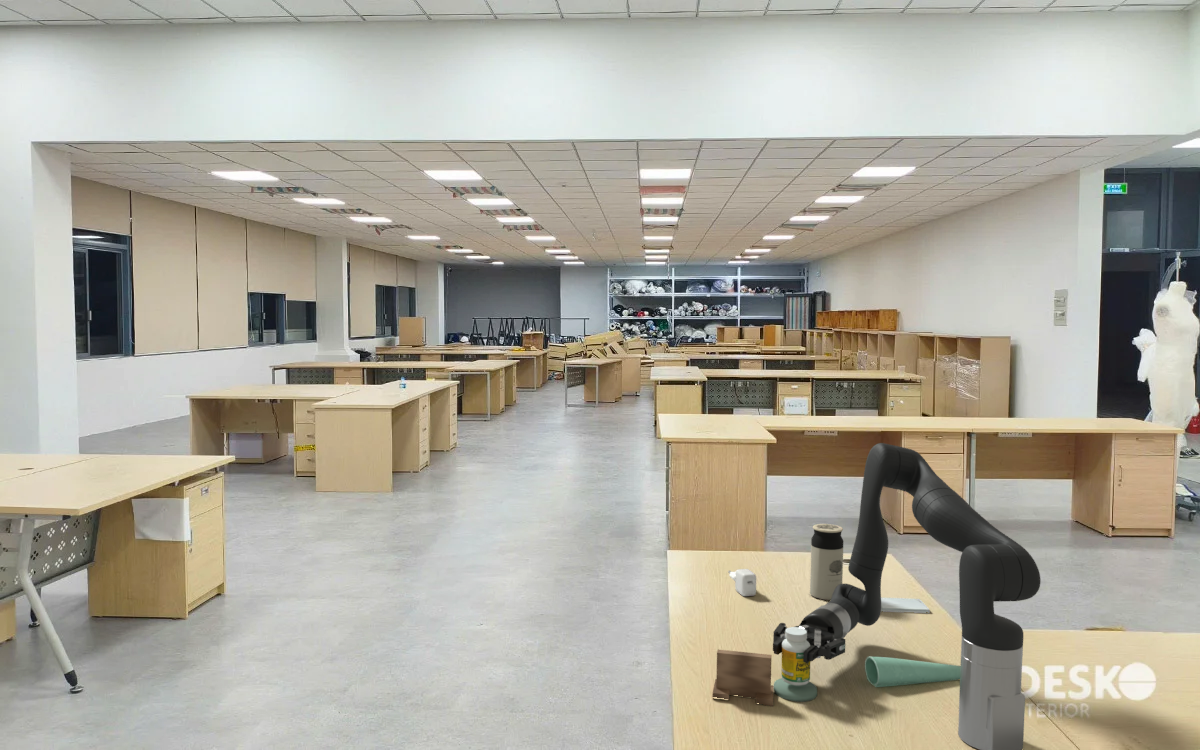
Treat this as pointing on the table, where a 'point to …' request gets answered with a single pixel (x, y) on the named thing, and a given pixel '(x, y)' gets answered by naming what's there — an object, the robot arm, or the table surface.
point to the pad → (795, 691)
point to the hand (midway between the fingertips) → (790, 653)
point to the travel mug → (826, 560)
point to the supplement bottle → (795, 657)
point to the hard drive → (903, 605)
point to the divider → (744, 676)
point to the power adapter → (744, 581)
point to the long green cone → (907, 671)
